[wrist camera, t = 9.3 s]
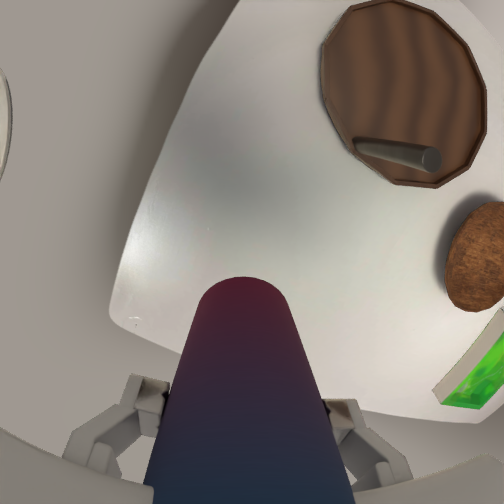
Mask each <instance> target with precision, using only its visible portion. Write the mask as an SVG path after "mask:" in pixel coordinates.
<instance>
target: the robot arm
mask: <svg viewBox="0 0 504 504" xmlns="http://www.w3.org/2000/svg"><path fill="white" fill-rule="evenodd" d="M169 390H170V383H169V382H165V381H161V380H156V379H152V378H148V377H144V376H140V375H136V374H131V375H130V377H129V379H128V382H127V384H126V388H125V390H124V392H123V395H122V398H121V401H120V404H119V405H117V404H115V405H113V406H112V407H110V408H108V409H107V410H105V411H104V412H102V413H101V414H99V415H98V416H96V417H94V418H93V419H91V420H90V421H88V422H87V423H85V424H83V425H82V426H80V427H79V428H77V429H75V430H74V431H72V433H71V436H70V438H69V441H68V443H67V445H66V448H65V450H64V453H63V455H62V458H61V457H58V456H56V455H54V454H51V453H49V452H47V451H45V450H43V449H40V448H38V447H36V446H34V445H32V444H30V443H28V442H26V441H24V440H22V439H20V438H18V437H17V436H15V435H13V434H11V433H10V432H8V431H6V430H4V429H3V428H1V427H0V504H152V503H153V495H154V489H153V487H152V486H148V485H144V484H140V483H136V482H132V481H128V480H124V479H121V475H122V473H121V471H120V468H119V466H118V463H117V460H116V457H118V456H119V455H120V454H121V453H122V452H123V451H125V450H126V449H127V448H128V447H129V446H130V445H131V444H132V443H134V442H135V441H136V440H137V439H138V438H139V437H140V436H141V435H144V436H149V437H154V438H156V436H157V433H158V429H159V426H160V423H161V419H162V416H163V413H164V409H165V406H166V403H167V400H168V396H169ZM322 402H323V405H324V408H325V411H326V413H327V416H328V419H329V422H330V425H331V428H332V431H333V434H334V437H335V440H336V443H337V446H338V449H339V452H340V455H341V458H342V461H343V464H344V465H345V466H346V468H347V469H348V470H349V471H350V472H351V473H352V474H353V475H354V477H355V478H356V479H357V480H358V481H356V482H355V483H354V484H353V485H352V486H351V488H352V491H353V496H354V499H355V503H356V504H504V464H503V463H502V462H501V461H499V460H498V459H496V458H495V457H493V456H492V455H489V454H482V455H479V456H477V457H475V458H473V459H470V460H468V461H465V462H463V463H460V464H458V465H455V466H453V467H450V468H447V469H445V470H441V471H438V472H436V473H432V474H429V475H426V476H423V477H419V478H416V479H414V478H413V476H412V473H411V470H410V468H409V465H408V463H407V460H406V458H405V456H404V455H402V454H401V453H400V452H399V451H397V450H396V449H395V448H394V447H392V446H391V445H390V444H389V443H387V442H386V441H385V440H384V439H382V438H381V437H380V436H379V435H378V434H377V433H375V432H374V431H373V430H371V429H370V428H367V427H366V424H365V422H364V419H363V416H362V413H361V411H360V408H359V405H358V403H357V400H356V399H322Z"/></svg>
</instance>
